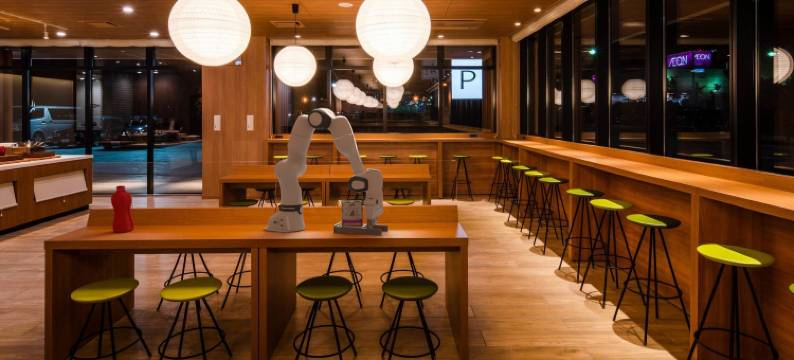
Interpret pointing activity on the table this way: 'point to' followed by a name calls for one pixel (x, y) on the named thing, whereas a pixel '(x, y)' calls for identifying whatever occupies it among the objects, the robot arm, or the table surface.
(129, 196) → the water bottle
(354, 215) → the candy bar box
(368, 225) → the crate carriage
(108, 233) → the table surface
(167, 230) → the table surface
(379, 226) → the bay
